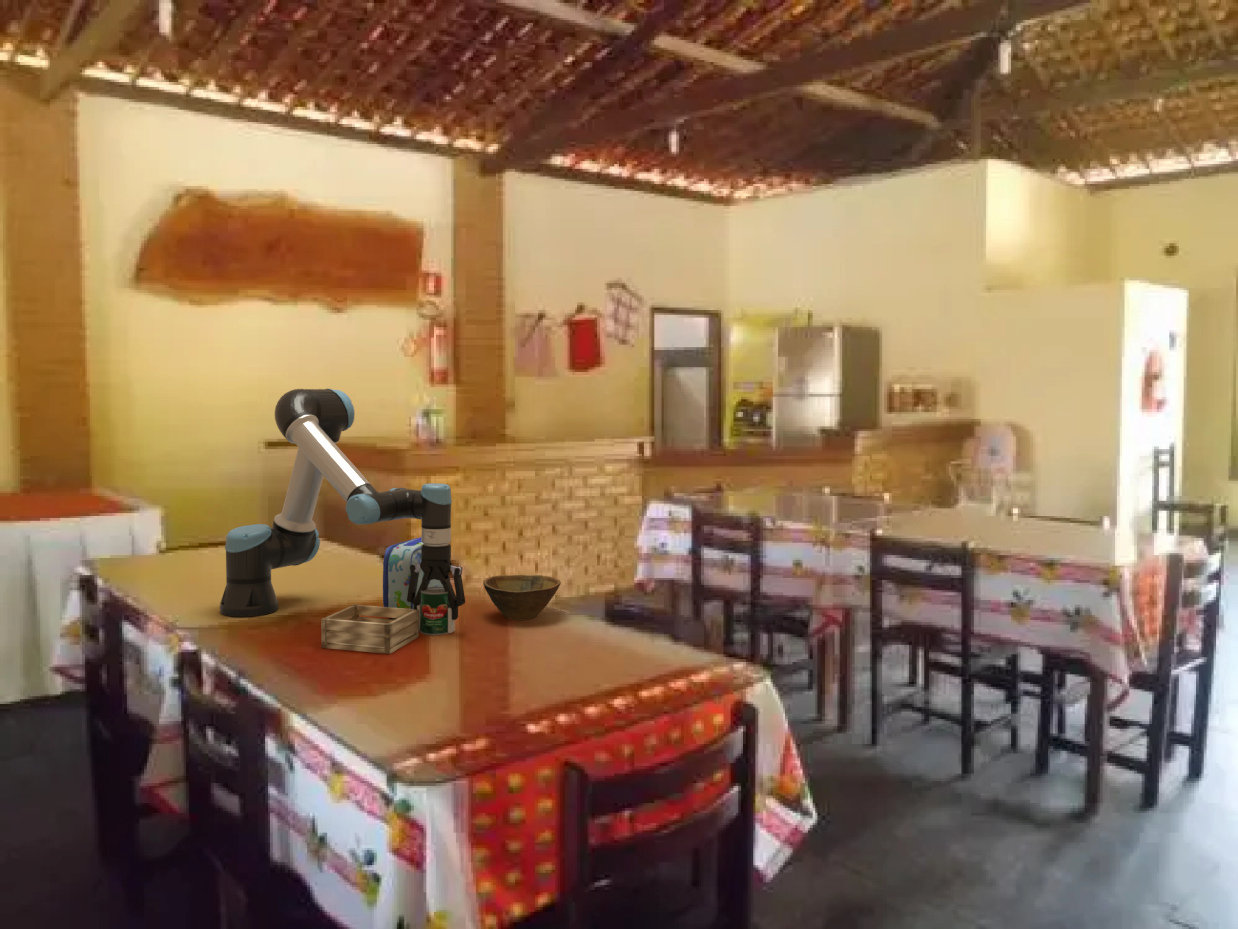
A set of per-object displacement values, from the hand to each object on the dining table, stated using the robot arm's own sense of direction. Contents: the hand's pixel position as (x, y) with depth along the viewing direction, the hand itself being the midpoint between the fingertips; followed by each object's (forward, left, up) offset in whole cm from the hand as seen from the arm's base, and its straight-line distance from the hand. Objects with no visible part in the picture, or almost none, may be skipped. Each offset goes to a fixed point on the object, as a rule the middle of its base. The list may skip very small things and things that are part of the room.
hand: (435, 630), depth 246 cm
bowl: (+16, +22, -1) cm, 27 cm away
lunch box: (-14, +18, -1) cm, 23 cm away
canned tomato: (0, 0, -1) cm, 1 cm away
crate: (-11, -14, 0) cm, 18 cm away
